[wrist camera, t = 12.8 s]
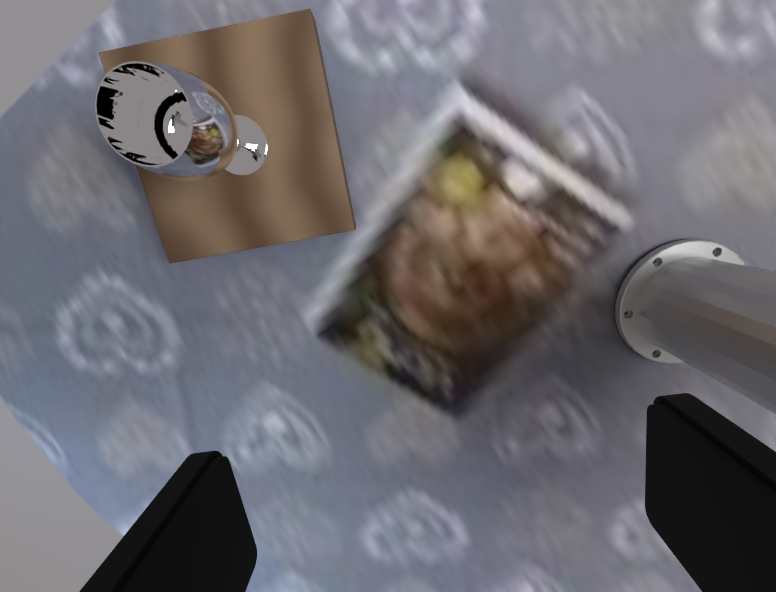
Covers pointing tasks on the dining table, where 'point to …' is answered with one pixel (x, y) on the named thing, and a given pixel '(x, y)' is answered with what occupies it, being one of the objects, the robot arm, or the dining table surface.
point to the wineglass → (175, 123)
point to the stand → (281, 127)
